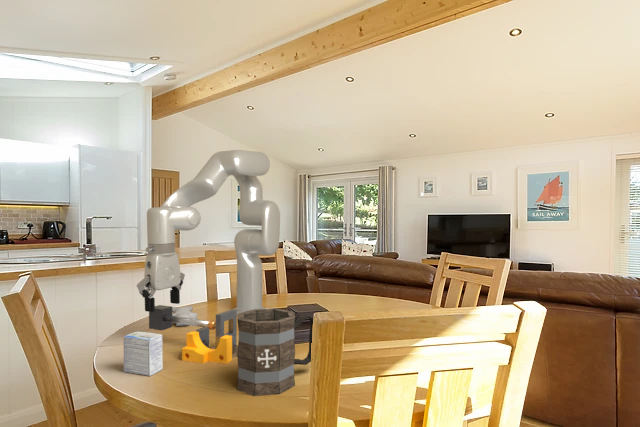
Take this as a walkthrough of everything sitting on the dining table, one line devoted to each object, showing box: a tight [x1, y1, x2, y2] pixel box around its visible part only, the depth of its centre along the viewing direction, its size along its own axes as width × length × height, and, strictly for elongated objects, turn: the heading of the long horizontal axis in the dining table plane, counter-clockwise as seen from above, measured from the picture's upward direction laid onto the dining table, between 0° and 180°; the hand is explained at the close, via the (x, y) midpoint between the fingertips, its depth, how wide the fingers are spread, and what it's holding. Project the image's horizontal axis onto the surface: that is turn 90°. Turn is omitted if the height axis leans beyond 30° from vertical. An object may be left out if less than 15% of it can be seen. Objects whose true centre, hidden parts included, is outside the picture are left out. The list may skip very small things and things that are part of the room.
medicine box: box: [123, 331, 164, 377], centre depth 96 cm, size 8×4×9 cm, turn 71°
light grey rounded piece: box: [171, 305, 198, 327], centre depth 141 cm, size 10×5×15 cm
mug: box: [236, 308, 313, 397], centre depth 92 cm, size 20×14×15 cm
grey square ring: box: [195, 308, 238, 359], centre depth 110 cm, size 13×7×11 cm, turn 66°
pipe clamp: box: [181, 330, 233, 365], centre depth 104 cm, size 12×4×6 cm, turn 71°
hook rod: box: [148, 304, 216, 331], centre depth 115 cm, size 23×4×6 cm, turn 66°
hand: (162, 307), depth 120 cm, fingers open, 9 cm apart
